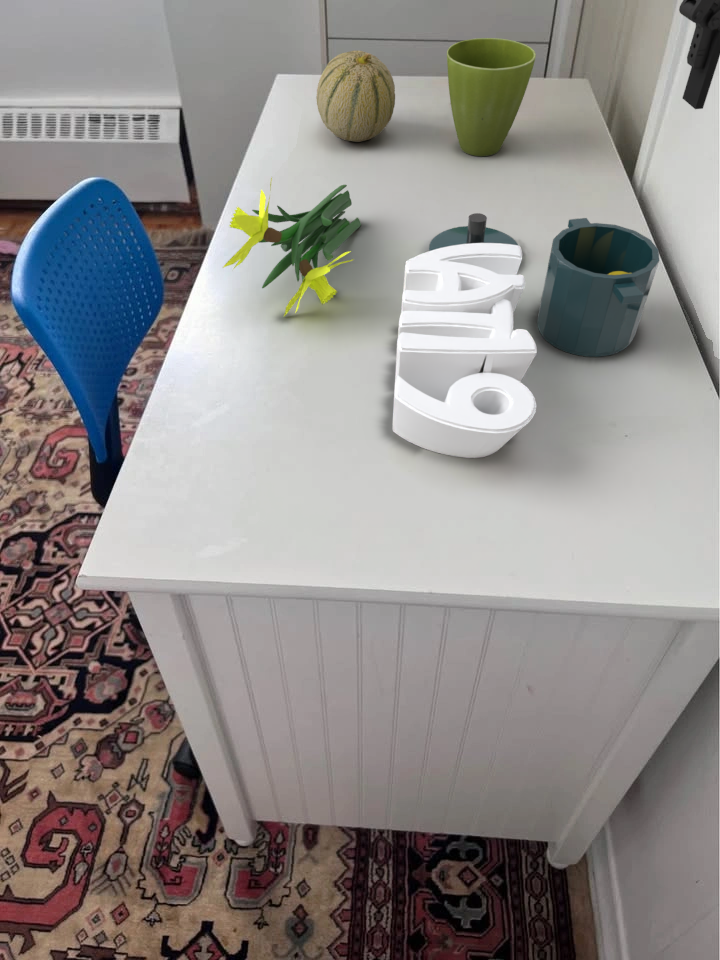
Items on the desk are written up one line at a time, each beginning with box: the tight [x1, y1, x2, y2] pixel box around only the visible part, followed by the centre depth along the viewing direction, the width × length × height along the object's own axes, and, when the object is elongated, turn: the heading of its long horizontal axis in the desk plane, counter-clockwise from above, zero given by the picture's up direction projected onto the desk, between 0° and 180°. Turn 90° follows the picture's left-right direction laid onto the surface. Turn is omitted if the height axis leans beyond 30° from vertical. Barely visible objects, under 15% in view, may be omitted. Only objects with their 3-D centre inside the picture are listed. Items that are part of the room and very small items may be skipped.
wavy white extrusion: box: [392, 243, 538, 459], centre depth 86 cm, size 35×16×11 cm, turn 172°
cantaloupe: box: [315, 50, 396, 143], centre depth 131 cm, size 15×15×15 cm
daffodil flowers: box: [222, 177, 362, 317], centre depth 100 cm, size 17×15×35 cm
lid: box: [428, 212, 519, 251], centre depth 106 cm, size 14×14×6 cm
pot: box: [536, 217, 660, 358], centre depth 92 cm, size 13×18×12 cm
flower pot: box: [446, 37, 537, 157], centre depth 127 cm, size 15×15×16 cm
